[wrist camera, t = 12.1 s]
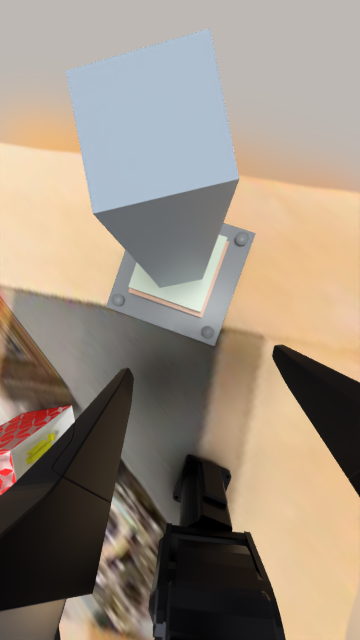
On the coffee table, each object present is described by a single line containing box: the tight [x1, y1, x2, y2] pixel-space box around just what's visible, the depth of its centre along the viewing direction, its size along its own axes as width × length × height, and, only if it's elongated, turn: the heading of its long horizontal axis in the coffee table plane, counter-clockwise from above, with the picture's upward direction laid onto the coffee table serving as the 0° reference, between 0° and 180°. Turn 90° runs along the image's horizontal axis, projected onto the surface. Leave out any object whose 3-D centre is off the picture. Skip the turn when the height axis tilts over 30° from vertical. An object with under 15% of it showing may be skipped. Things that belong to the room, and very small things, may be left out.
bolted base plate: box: [106, 223, 255, 346], centre depth 20 cm, size 16×16×4 cm
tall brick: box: [66, 28, 239, 288], centre depth 11 cm, size 5×5×12 cm
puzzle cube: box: [0, 405, 75, 495], centre depth 19 cm, size 8×8×8 cm
